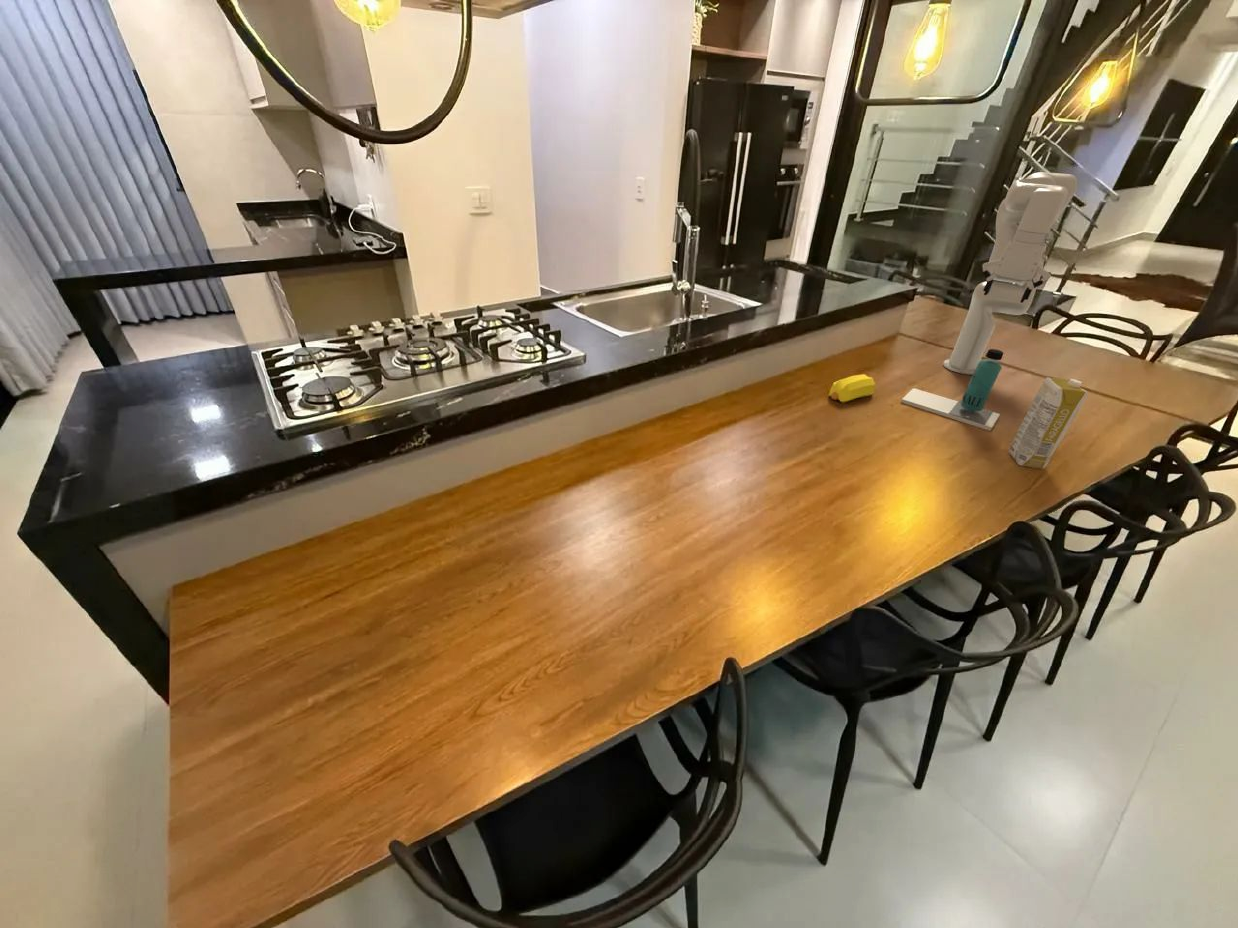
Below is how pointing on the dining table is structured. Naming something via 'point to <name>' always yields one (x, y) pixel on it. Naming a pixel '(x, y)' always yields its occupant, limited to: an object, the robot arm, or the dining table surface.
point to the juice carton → (1047, 421)
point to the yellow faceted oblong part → (852, 388)
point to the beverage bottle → (982, 381)
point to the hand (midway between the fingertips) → (1003, 297)
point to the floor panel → (950, 409)
